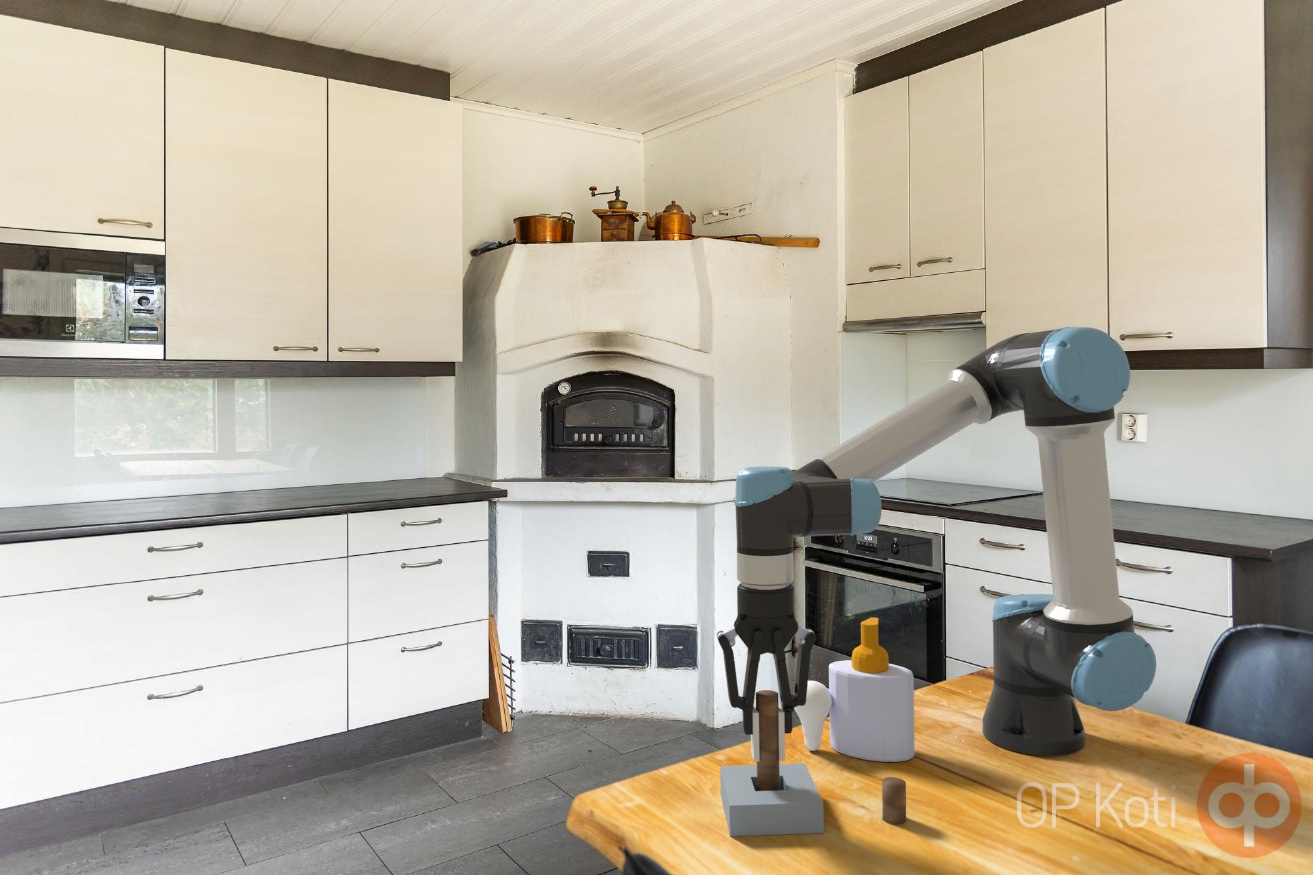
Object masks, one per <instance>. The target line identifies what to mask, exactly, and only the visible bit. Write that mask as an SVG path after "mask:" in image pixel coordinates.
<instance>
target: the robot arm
mask: <svg viewBox="0 0 1313 875" xmlns="http://www.w3.org/2000/svg"><path fill="white" fill-rule="evenodd" d="M1130 381H1131V368H1130V363H1129V360H1128V356H1127V354H1126V352H1125V351H1124V348H1122V346H1121V345H1120V343H1119V342H1118V341H1117V340H1116V339H1115V338H1112V336H1110V335H1109V334H1108V333H1107V332H1105V331H1103V330H1101V329H1098V328H1094V327H1090V326H1089V327H1088V326H1083V327H1082V326H1064V327H1061V328H1055V329H1050V330H1049V329H1048V330H1043V331H1042V330H1041V331H1034V332H1027V333H1026V332H1025V333H1020V334H1015V335H1012V336H1009V337H1006V338H1005V339H1003V340H1000V341H999V342H997V343H996V344H994V345H992V346H990V347H988V348H986V349H984V350H983V351H982V352H980V353H978V354H977V355H975V356H974V357H972V358H970V359H969V360H967V361H965V362H964V363H962V364H961V365H958V366H957V367H956V368H954V369H952V370H951V371H949V373H948V375H947V377H946V381H945V382H943V383H941V384H940V385H938V386H936V387H934V388H933V389H931V390H929V391H927V393H924V394H923V395H921V396H920V397H918V398H916V399H914V400H913V401H911V402H909V403H908V404H906V405H904V406H903V407H901V408H899V409H898V410H896V411H895V412H893V413H891V414H890V415H888V416H886V417H884V418H883V419H881V420H879V421H878V422H876V423H874V424H873V425H871V426H869V427H868V428H866V429H864V430H862V431H861V432H859V433H857V434H856V435H854V436H853V437H852V436H851V437H850V438H849V439H847V440H845V441H844V442H842V443H840V444H839V445H838V446H836V447H834V448H832V449H830V450H829V451H827V452H825V453H824V454H822V455H821V456H819V457H817V458H816V459H814V460H812V461H810V462H808V463H806V464H805V465H803V466H802V467H799V468H798V469H790V468H789V467H786V466H771V465H770V466H748V467H743V468H742V469H740V470H739V471H738V473H737V475H736V478H735V479H736V480H735V481H736V482H735V496H734V497H735V500H734V506H735V523H736V524H735V526H736V528H735V529H736V580H738V582H739V584H738V585H737V587H736V596H737V597H736V600H737V601H736V603H737V604H736V605H737V606H736V607H737V608H736V609H737V612H736V613H737V615H736V619H735V620H734V623H733V627H730V628H729V629H727V630H725V631H723V630H720V631H719V630H718V631H717V633H716V638H717V641H718V644H719V645H720V647H721V650H722V655H723V662H724V670H725V677H726V678H725V679H726V687H727V696H728V700H729V703H730V706H731V707H732V708H734V709H737V708H738V709H739V710H742V729H743V732H744V735H746V736H748V735H749V736H750V755H751V757H752V761H753V763H754V762H755V763H757V761H759V712H758V711H757V710H756V705H755V699H756V691H757V690H756V688H757V681H758V674H759V673H758V672H759V664H760V661H761V656H762V655H764V654H772V656H773V661H774V665H775V666H774V667H775V673H776V680H777V686H778V692H779V693H778V695H779V697H780V698H779V700H780V704H781V705H780V704H778V708H779V710H778V754H779V762H781V761H783V762H784V761H786V757H785V756H786V746H785V744H786V742H785V737H786V736H785V735H786V734H792V732H793V712H794V711H795V709H794V708H795V707H797V706H799V705H800V706H803V705H805V704H806V697H807V686H808V681H809V672H810V664H811V663H810V662H811V651H812V649H813V647H814V646H815V643H816V641H817V635H816V633H815V632H814V630H812V629H811V628H805V627H803V626H800V625H799V624H798V621H797V619H796V618H795V589H794V588H795V587H794V586H793V584H791V583H792V582H793V581H794V580H795V579H794V578H795V576H794V575H795V574H794V570H795V569H794V568H795V567H794V538H805V537H823V536H827V537H828V536H847V535H848V536H849V535H850V537H853V536H854V535H855V536H856V535H861V534H868V533H872V532H873V531H875V530H876V529H877V528H878V526H879V524H880V521H881V518H882V500H881V499H882V498H881V495H880V492H879V489H878V487H877V485H876V484H875V483H876V482H877V481H879V480H881V479H883V478H884V477H885V476H887V475H889V474H891V473H892V472H894V471H896V470H897V469H899V468H901V467H902V466H904V465H906V464H907V463H909V462H910V461H912V460H914V459H915V458H918V457H919V456H920V455H923V454H924V453H926V452H927V451H929V450H930V449H932V448H934V447H936V446H937V445H939V444H941V443H943V441H945V440H947V439H948V438H950V437H953V435H955V434H957V433H959V432H961V431H962V430H964V429H965V428H967V427H969V426H970V425H972V424H977V425H984V424H986V423H988V422H991V421H992V420H993V419H995V418H998V417H999V416H1001V415H1005V414H1008V413H1013V412H1014V413H1015V412H1018V411H1023V416H1024V427H1025V429H1027V431H1029V432H1030V433H1032V434H1033V435H1034V436H1036V438H1037V440H1038V441H1037V443H1038V452H1039V462H1040V472H1041V483H1042V485H1041V486H1042V495H1043V503H1044V505H1043V506H1044V514H1045V515H1044V516H1045V526H1046V534H1047V535H1046V536H1047V537H1046V538H1047V545H1048V546H1047V547H1048V556H1049V565H1050V566H1049V567H1050V577H1051V587H1052V594H1046V593H1025V594H1024V593H1023V594H1010V595H1005V596H1004V595H1003V596H1001V597H999V598H998V599H996V600H995V601H994V603H993V610H992V619H991V622H992V634H993V635H992V637H993V638H992V643H993V644H992V646H993V648H992V651H993V655H992V656H993V687H992V691H991V693H990V697H989V699H988V702H987V704H986V707H985V710H984V713H983V715H982V716H983V717H982V734H983V737H985V738H986V739H987V740H988V741H989V742H991V743H993V744H994V745H996V746H999V747H1001V748H1004V749H1007V750H1010V751H1013V752H1017V753H1020V754H1022V753H1023V754H1026V755H1027V754H1028V755H1035V756H1050V757H1051V756H1054V757H1055V756H1067V755H1072V754H1075V753H1077V752H1079V751H1082V750H1083V749H1084V747H1085V745H1086V730H1085V727H1084V726H1085V725H1083V721H1082V718H1081V715H1080V712H1079V709H1078V707H1077V704H1076V700H1077V701H1078V702H1079V703H1081V704H1082V705H1084V706H1089V707H1093V708H1096V709H1098V710H1101V711H1105V712H1117V711H1122V710H1126V709H1127V708H1130V707H1131V706H1134V705H1136V703H1138V702H1139V701H1140V700H1142V698H1143V696H1144V695H1145V693H1146V692H1148V691H1149V689H1150V688H1151V686H1152V684H1153V681H1154V680H1155V676H1156V672H1157V657H1156V654H1155V651H1154V649H1153V646H1151V644H1150V643H1148V642H1147V640H1146V639H1145V638H1144V637H1143V636H1142V635H1140V634H1137V633H1136V632H1135V622H1134V614H1133V608H1132V607H1131V606H1129V605H1128V604H1127V603H1126V602H1125V601H1123V600H1122V599H1121V598H1120V592H1119V591H1120V590H1119V580H1118V573H1117V572H1118V569H1117V558H1116V550H1115V537H1114V527H1113V526H1114V525H1113V516H1112V515H1113V514H1112V506H1111V493H1110V483H1109V472H1108V465H1107V464H1108V463H1107V462H1108V461H1107V453H1106V452H1107V450H1106V441H1105V433H1106V431H1107V429H1108V428H1109V427H1110V426H1111V425H1112V424H1113V423H1114V422H1115V421H1116V416H1115V415H1116V414H1115V406H1116V405H1117V404H1118V403H1120V402H1121V401H1122V399H1123V398H1124V397H1125V396H1124V393H1125V392H1127V391H1128V389H1129V386H1130ZM795 635H796V641H797V642H798V646H797V654H796V655H797V656H796V667H795V678H794V686H793V687H794V689H793V694H792V693H791V686H790V680H789V673H788V667H787V657H786V652H785V650H786V648H787V646H788V645H789V643H791V641H792V640H793V638H794V637H795ZM737 636H738V637H739V639H740V640H741V642H743V644H744V645H745V647H746V648H747V652H746V654H747V656H746V658H747V659H746V665H745V672H744V673H745V674H744V681H743V688H742V689H743V690H742V696H741V695H739V686H738V679H737V671H736V670H737V669H736V661H735V654H734V650H733V648H732V647H734V646H735V645H736V637H737ZM1075 699H1076V700H1075Z"/></svg>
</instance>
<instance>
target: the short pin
mask: <svg viewBox="0 0 1313 875" xmlns="http://www.w3.org/2000/svg"><path fill="white" fill-rule="evenodd" d="M881 782H882V783H881V792H882V793H881V794H882V795H881V797H882V800H881V801H882V802H881V803H882V810H881V811H882V820H883V821H884V822H885V823H887V824H890V825H894V826H896V825H897V826H899V825H903V824H905V823H906V822H907V785H906V784H907V782H906V781H905V780H904V779H903V778H899V777H896V776H887V777H885V778H882V781H881Z"/></svg>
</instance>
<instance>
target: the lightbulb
mask: <svg viewBox="0 0 1313 875" xmlns="http://www.w3.org/2000/svg"><path fill="white" fill-rule="evenodd" d="M831 706H832V698H831V695H830V692H829V688H827V687H826V686H825V685H824V684H823V683H821V682H819V681H816V680H808V686H807V697H806V704H805V705H803V706H800V705H799V706H797V707H795V708H794V711H795V713H796V715H797V716H798V718H799V720H800V723H801V727H802V728H801V729H802V734H803V736H804V739H803V740H804V746H805V748H807V749H809V751H812V752H816V751H817V750H818V749H820V748H821V747H822V735H823V732H824V725H825V723H826V722H825V721H826V719H827V717H828V716H829V715H830V709H831Z"/></svg>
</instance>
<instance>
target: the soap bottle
mask: <svg viewBox="0 0 1313 875" xmlns="http://www.w3.org/2000/svg"><path fill="white" fill-rule="evenodd" d="M889 662H890V661H889V653H888V651H887V650H886V649H885V648H884V647H883V646H881V645H879V617H869V618H867V619H865V620H863V621H861V622H860V645H859V646H857V647H855V648H854V649H853V650H852V653H851V659H848V660H847V659H846V660H840V661H839V660H837V661H833V662H831V663H829V665H828V691H829V692H830V695H831V698H832V706H831V709H830V712H829V745H830V747H831V749H833V750H835V751H836V752H837V753H840V754H843V755H845V756H848V757H852V758H856V759H862V760H866V761H873V762H874V761H875V762H880V763H881V762H882V763H884V762H886V763H889V762H891V763H898V762H905V761H910V760H911V759H913V758H914V757H915V688H914V687H915V685H914V684H915V682H914V681H915V679H914V674H913V671H912V670H910V669H908V668H906V667H904V666H900V665H896V664H892V663H889Z"/></svg>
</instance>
